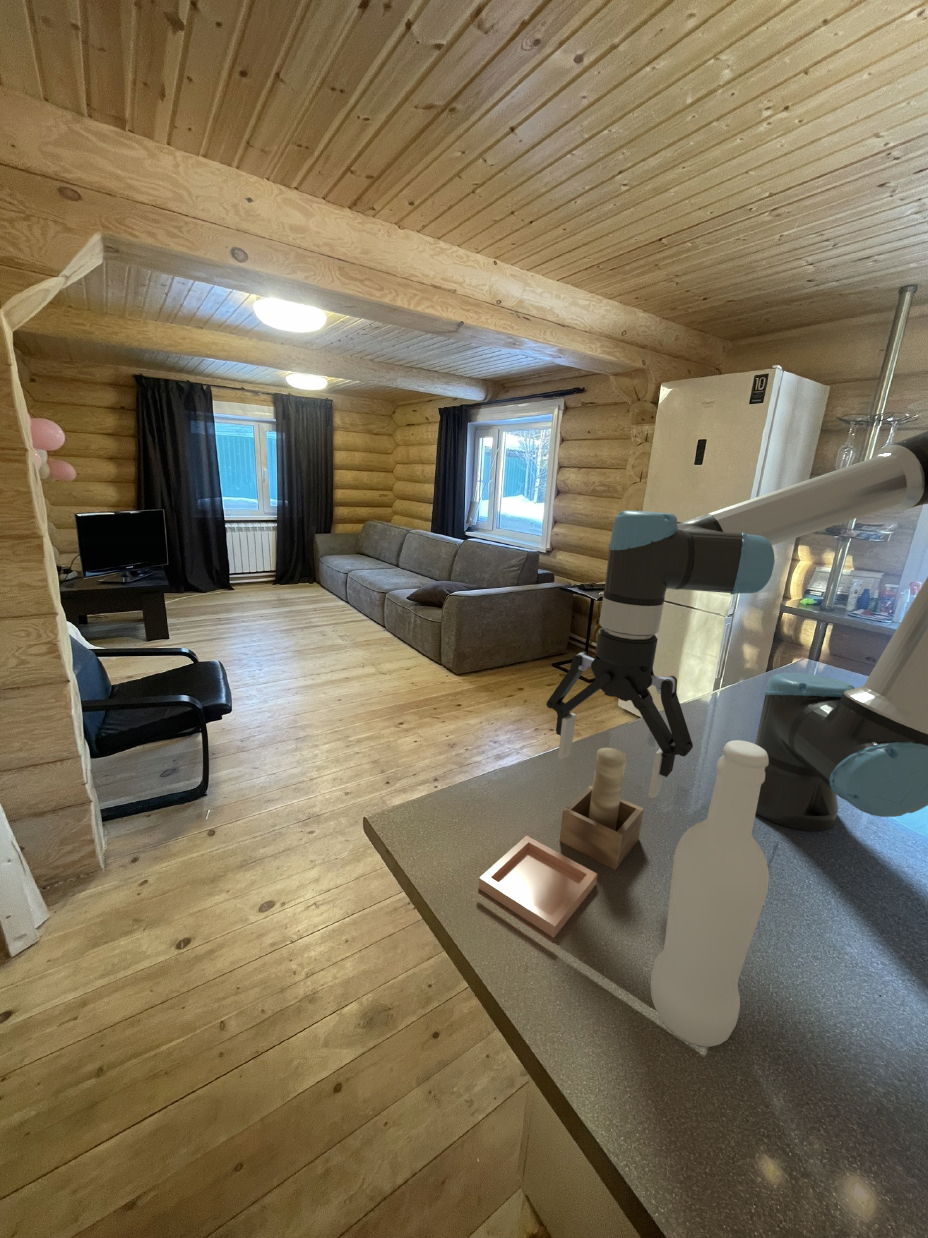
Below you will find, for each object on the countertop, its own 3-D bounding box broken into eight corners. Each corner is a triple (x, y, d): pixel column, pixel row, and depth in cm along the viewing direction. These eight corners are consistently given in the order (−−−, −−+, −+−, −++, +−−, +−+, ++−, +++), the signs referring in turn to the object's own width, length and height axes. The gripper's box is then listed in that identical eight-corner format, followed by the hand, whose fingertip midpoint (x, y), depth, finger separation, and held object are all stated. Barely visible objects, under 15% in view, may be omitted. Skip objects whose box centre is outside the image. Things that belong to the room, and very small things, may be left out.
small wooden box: (638, 843, 77) (643, 808, 75) (614, 874, 70) (619, 837, 69) (585, 818, 82) (589, 785, 80) (559, 845, 75) (563, 810, 74)
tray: (595, 889, 68) (597, 874, 67) (553, 943, 59) (555, 926, 59) (525, 849, 74) (526, 835, 74) (478, 893, 66) (479, 877, 65)
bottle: (635, 975, 56) (678, 724, 48) (706, 972, 57) (759, 724, 49) (670, 1055, 48) (728, 772, 40) (751, 1050, 49) (824, 771, 41)
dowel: (618, 839, 76) (630, 754, 73) (606, 853, 73) (619, 765, 70) (593, 827, 79) (604, 744, 75) (581, 840, 76) (592, 754, 72)
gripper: (738, 648, 63) (706, 799, 68) (558, 607, 78) (544, 734, 83) (722, 662, 57) (689, 825, 63) (532, 615, 72) (519, 751, 78)
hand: (606, 774), depth 73 cm, fingers open, 13 cm apart
